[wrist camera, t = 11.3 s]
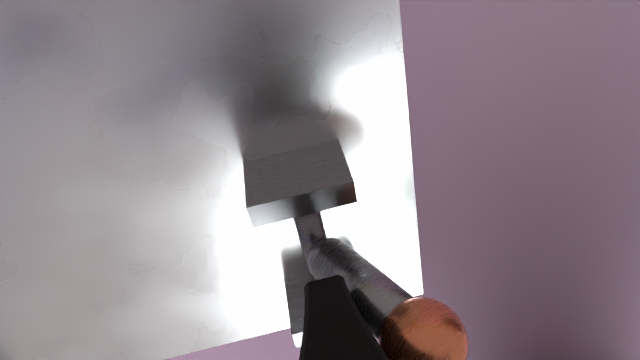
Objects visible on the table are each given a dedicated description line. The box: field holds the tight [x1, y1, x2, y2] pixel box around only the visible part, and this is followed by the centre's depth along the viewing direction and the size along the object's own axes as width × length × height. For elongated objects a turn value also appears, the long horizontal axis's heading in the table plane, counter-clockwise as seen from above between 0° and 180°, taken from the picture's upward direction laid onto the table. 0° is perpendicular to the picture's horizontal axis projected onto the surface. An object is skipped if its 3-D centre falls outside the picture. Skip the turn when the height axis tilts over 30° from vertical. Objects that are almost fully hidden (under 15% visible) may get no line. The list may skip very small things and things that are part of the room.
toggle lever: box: [293, 212, 468, 360], centre depth 11 cm, size 2×3×5 cm, turn 10°
